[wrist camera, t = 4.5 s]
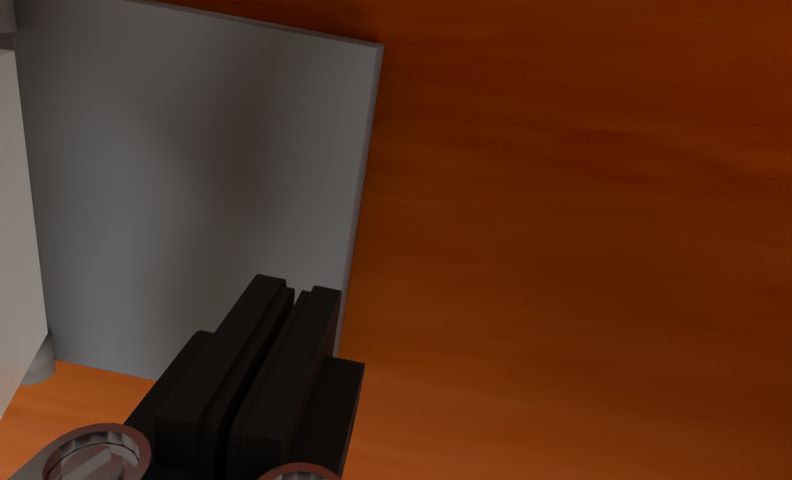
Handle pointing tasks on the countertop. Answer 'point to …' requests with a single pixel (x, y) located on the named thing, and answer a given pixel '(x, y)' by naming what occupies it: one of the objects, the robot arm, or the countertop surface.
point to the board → (182, 168)
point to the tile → (16, 244)
